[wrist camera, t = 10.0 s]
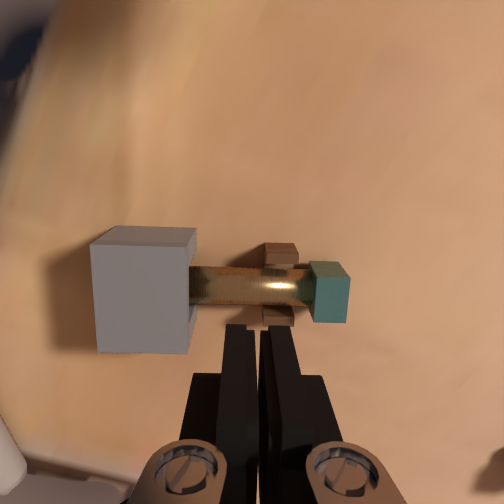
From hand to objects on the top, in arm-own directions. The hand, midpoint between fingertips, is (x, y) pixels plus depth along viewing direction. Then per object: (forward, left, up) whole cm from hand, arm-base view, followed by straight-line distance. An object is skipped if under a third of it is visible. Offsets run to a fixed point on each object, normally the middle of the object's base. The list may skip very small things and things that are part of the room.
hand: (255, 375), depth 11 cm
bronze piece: (+8, 0, -30) cm, 31 cm away
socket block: (+8, -9, -31) cm, 33 cm away
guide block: (+8, +3, -31) cm, 32 cm away
